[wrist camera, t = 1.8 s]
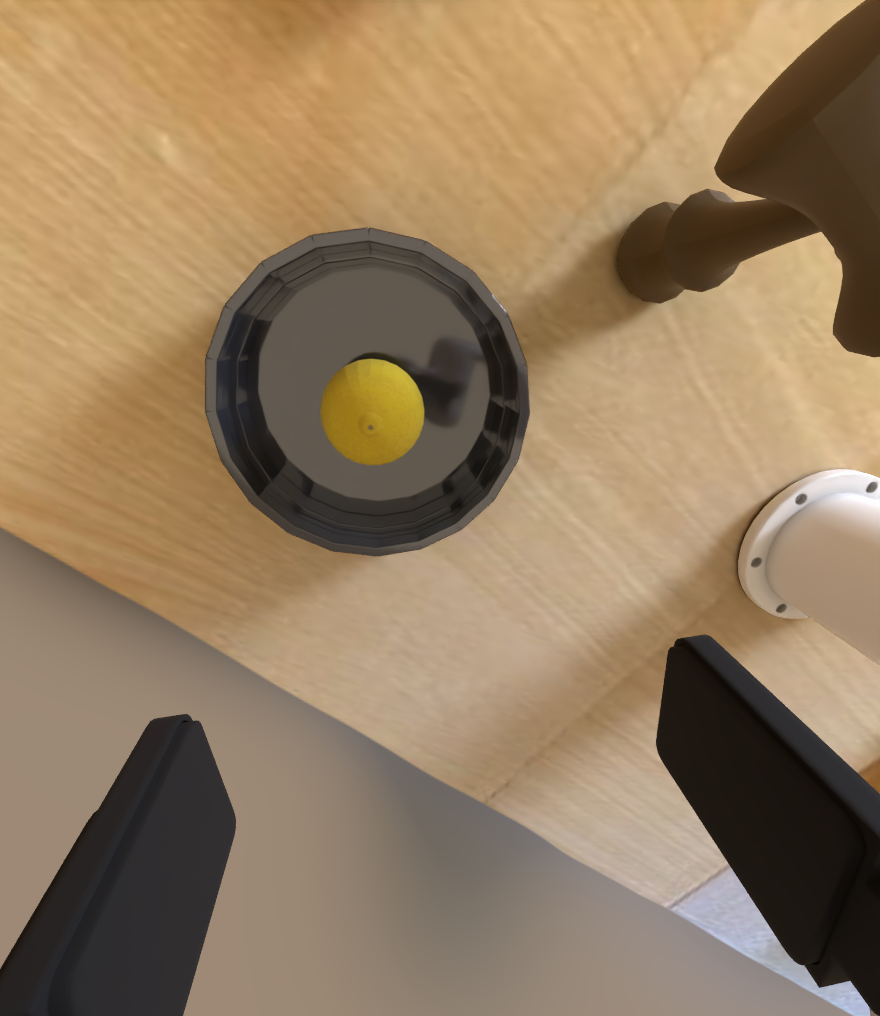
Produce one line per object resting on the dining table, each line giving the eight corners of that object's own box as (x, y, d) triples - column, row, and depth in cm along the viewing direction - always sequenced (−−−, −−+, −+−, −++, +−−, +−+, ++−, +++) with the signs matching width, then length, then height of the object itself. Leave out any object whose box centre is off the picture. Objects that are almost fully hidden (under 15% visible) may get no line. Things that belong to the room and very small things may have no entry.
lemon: (316, 423, 29) (291, 456, 21) (350, 338, 27) (336, 341, 20) (397, 459, 30) (400, 501, 23) (434, 380, 28) (450, 398, 21)
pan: (497, 227, 26) (518, 207, 22) (517, 504, 32) (536, 530, 28) (192, 267, 25) (153, 254, 21) (275, 544, 32) (257, 576, 27)
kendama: (669, 349, 30) (1139, 384, 11) (564, 243, 27) (965, 49, 8) (739, 268, 28) (1409, 153, 10) (637, 147, 25) (1315, -348, 7)
